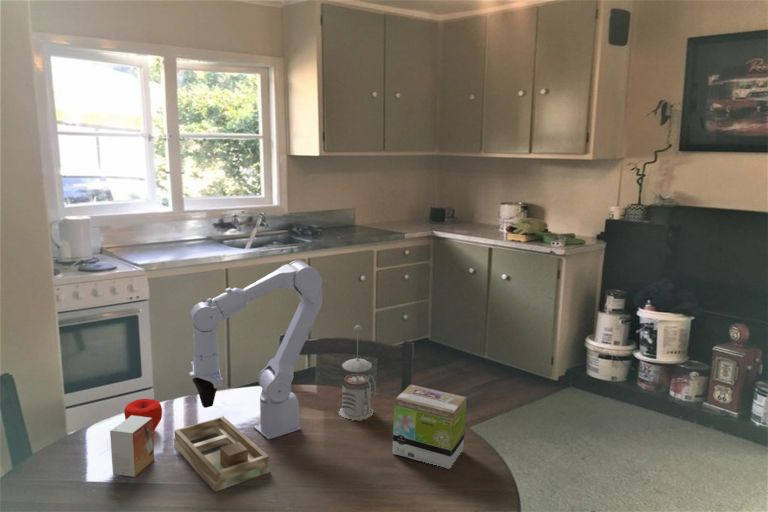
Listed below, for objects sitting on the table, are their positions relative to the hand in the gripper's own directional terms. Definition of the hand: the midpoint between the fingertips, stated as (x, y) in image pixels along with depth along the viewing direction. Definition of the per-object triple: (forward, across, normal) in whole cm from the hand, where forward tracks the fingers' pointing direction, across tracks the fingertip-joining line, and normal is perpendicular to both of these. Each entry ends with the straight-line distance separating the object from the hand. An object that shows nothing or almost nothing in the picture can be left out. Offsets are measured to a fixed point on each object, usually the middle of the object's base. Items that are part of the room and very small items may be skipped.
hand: (207, 406), depth 147 cm
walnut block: (+7, +17, -1) cm, 18 cm away
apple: (+10, -14, -11) cm, 20 cm away
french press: (+10, +9, +39) cm, 41 cm away
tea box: (+10, +36, +40) cm, 55 cm away
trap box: (+9, +9, -1) cm, 13 cm away
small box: (+10, +1, -18) cm, 20 cm away
